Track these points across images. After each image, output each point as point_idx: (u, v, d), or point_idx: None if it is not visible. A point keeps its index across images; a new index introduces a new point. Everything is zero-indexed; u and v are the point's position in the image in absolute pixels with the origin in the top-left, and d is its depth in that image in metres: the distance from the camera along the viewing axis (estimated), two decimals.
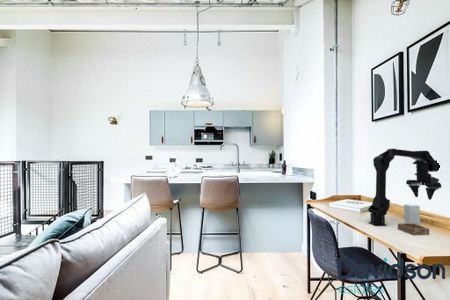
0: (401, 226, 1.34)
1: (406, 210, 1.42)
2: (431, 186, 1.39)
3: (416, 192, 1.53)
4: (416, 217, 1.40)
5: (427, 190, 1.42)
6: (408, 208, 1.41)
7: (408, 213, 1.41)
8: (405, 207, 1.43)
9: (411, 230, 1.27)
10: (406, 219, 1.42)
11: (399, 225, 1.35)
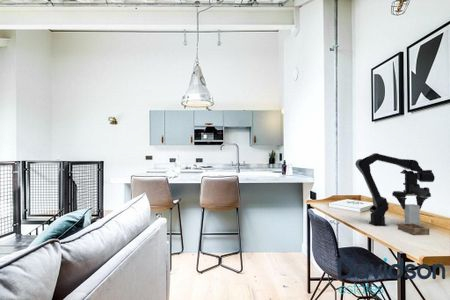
0: (401, 226, 1.34)
1: (406, 210, 1.42)
2: None
3: (419, 204, 1.42)
4: (416, 217, 1.40)
5: None
6: (408, 208, 1.41)
7: (408, 213, 1.41)
8: (405, 207, 1.43)
9: (411, 230, 1.27)
10: (406, 219, 1.42)
11: (399, 225, 1.35)
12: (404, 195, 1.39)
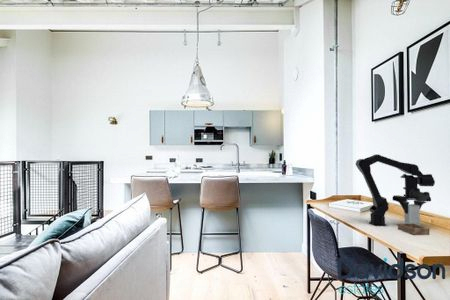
0: (401, 226, 1.34)
1: None
2: None
3: None
4: (416, 217, 1.40)
5: None
6: (408, 208, 1.41)
7: (408, 213, 1.41)
8: None
9: (411, 230, 1.27)
10: (406, 219, 1.42)
11: (399, 225, 1.35)
12: (404, 199, 1.39)
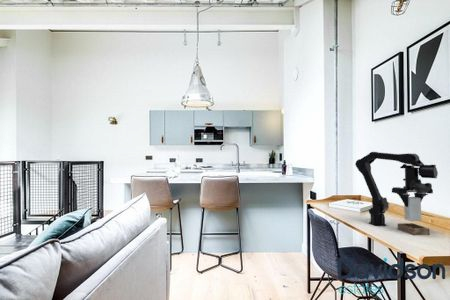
0: (401, 226, 1.34)
1: None
2: None
3: None
4: (417, 211, 1.30)
5: None
6: (408, 201, 1.31)
7: (408, 206, 1.31)
8: None
9: (411, 230, 1.27)
10: (406, 213, 1.32)
11: (399, 225, 1.35)
12: (404, 191, 1.29)
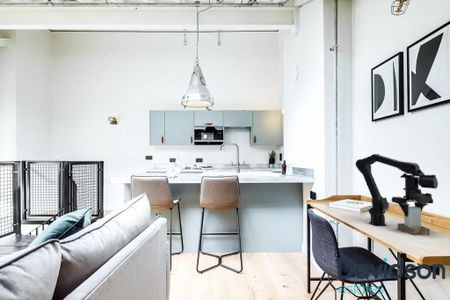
0: (401, 226, 1.34)
1: None
2: None
3: None
4: (417, 221, 1.30)
5: None
6: (408, 210, 1.30)
7: (408, 216, 1.31)
8: None
9: (411, 230, 1.27)
10: (406, 222, 1.32)
11: (399, 225, 1.35)
12: (404, 201, 1.29)
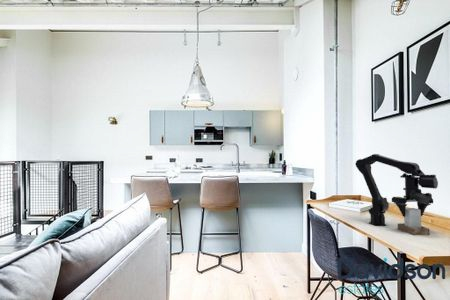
0: (401, 226, 1.34)
1: (406, 215, 1.32)
2: None
3: None
4: (417, 223, 1.30)
5: None
6: (408, 212, 1.30)
7: (408, 218, 1.31)
8: None
9: (411, 230, 1.27)
10: (406, 224, 1.32)
11: (399, 225, 1.35)
12: (404, 201, 1.28)
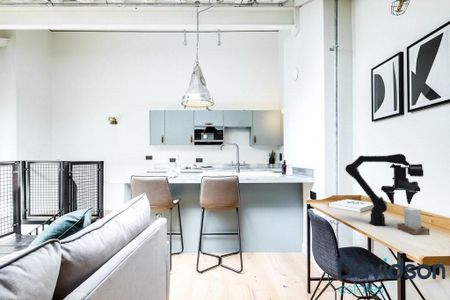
0: (401, 226, 1.34)
1: (406, 215, 1.32)
2: None
3: (408, 199, 1.40)
4: (417, 223, 1.30)
5: None
6: (408, 212, 1.30)
7: (408, 218, 1.31)
8: (405, 211, 1.33)
9: (411, 230, 1.27)
10: (406, 224, 1.32)
11: (399, 225, 1.35)
12: (392, 189, 1.37)
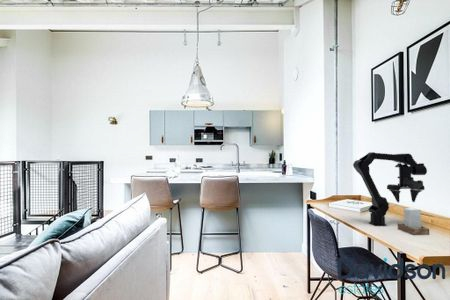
0: (401, 226, 1.34)
1: (406, 215, 1.32)
2: None
3: (413, 197, 1.45)
4: (417, 223, 1.30)
5: None
6: (408, 212, 1.30)
7: (408, 218, 1.31)
8: (405, 211, 1.33)
9: (411, 230, 1.27)
10: (406, 224, 1.32)
11: (399, 225, 1.35)
12: (398, 188, 1.42)
